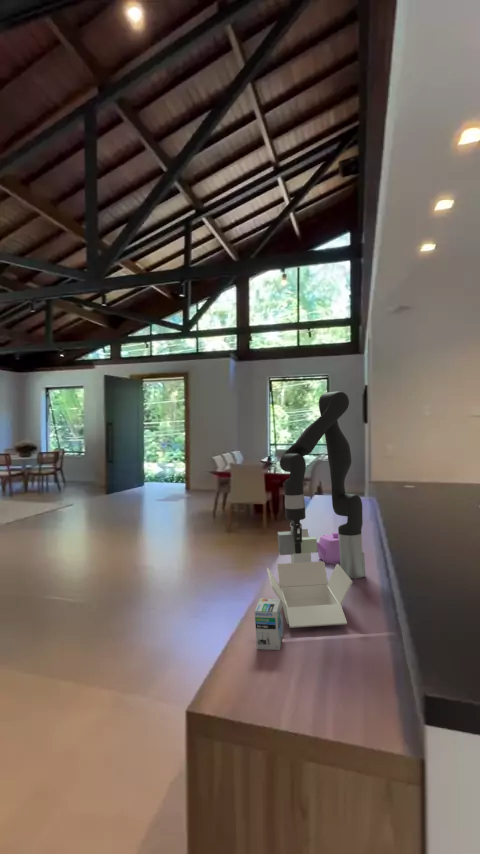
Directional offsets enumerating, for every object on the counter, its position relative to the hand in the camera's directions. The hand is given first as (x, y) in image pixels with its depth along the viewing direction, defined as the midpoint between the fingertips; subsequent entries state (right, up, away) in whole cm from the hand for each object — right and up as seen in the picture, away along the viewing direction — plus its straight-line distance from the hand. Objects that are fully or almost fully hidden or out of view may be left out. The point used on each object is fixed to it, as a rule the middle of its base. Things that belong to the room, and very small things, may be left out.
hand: (297, 551), depth 176 cm
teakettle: (+23, -14, +38) cm, 47 cm away
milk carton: (+4, -15, +19) cm, 24 cm away
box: (0, 0, 0) cm, 0 cm away
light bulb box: (-13, -15, -41) cm, 46 cm away
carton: (+1, -14, -23) cm, 27 cm away
